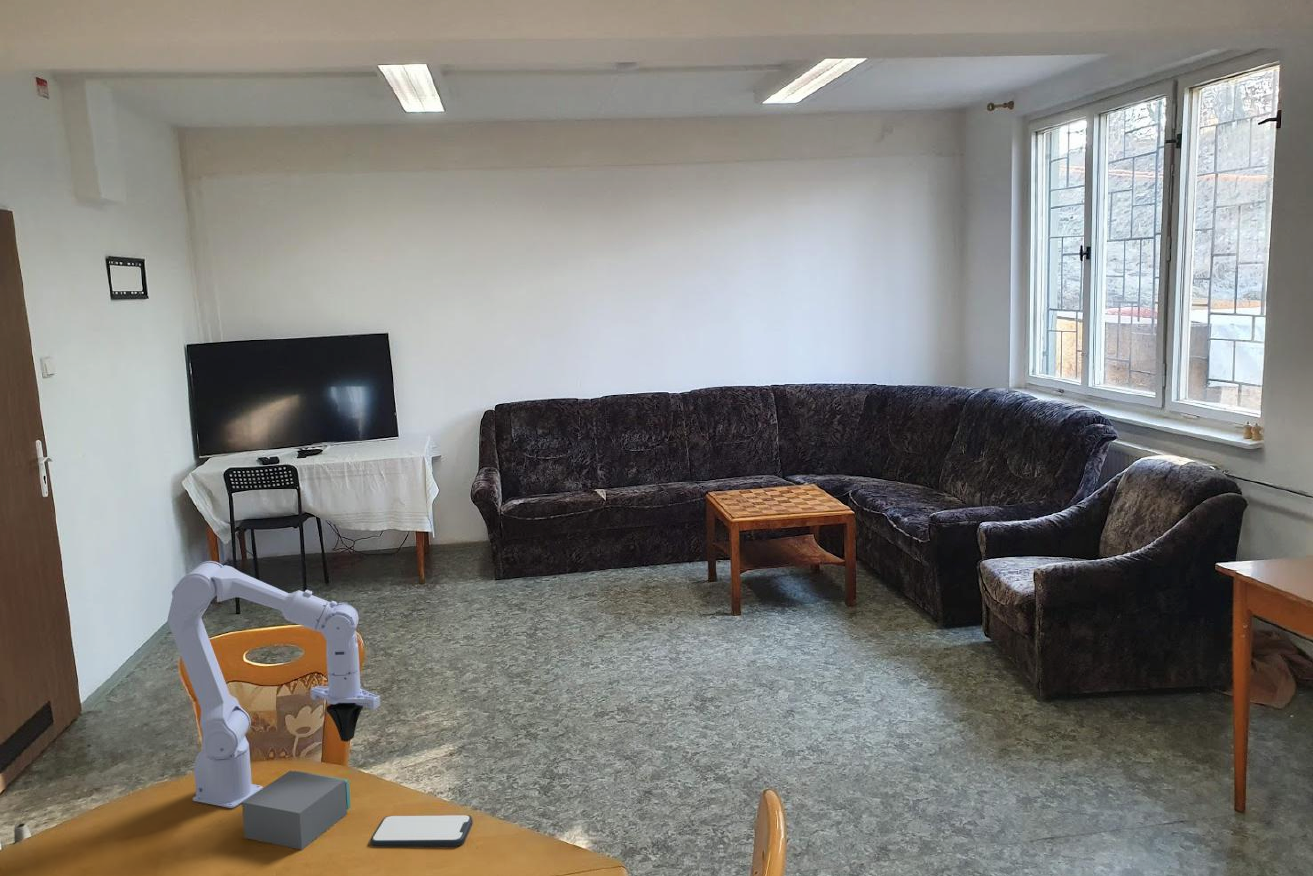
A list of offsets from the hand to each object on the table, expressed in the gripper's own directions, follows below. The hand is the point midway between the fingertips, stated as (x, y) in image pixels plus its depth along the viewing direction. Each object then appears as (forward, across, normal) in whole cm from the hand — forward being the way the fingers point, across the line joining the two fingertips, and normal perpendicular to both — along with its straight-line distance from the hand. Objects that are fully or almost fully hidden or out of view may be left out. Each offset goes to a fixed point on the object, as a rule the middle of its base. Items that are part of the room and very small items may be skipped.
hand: (347, 739), depth 183 cm
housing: (+9, +1, -15) cm, 18 cm away
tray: (+9, +1, -14) cm, 16 cm away
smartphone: (+10, +23, -9) cm, 27 cm away
